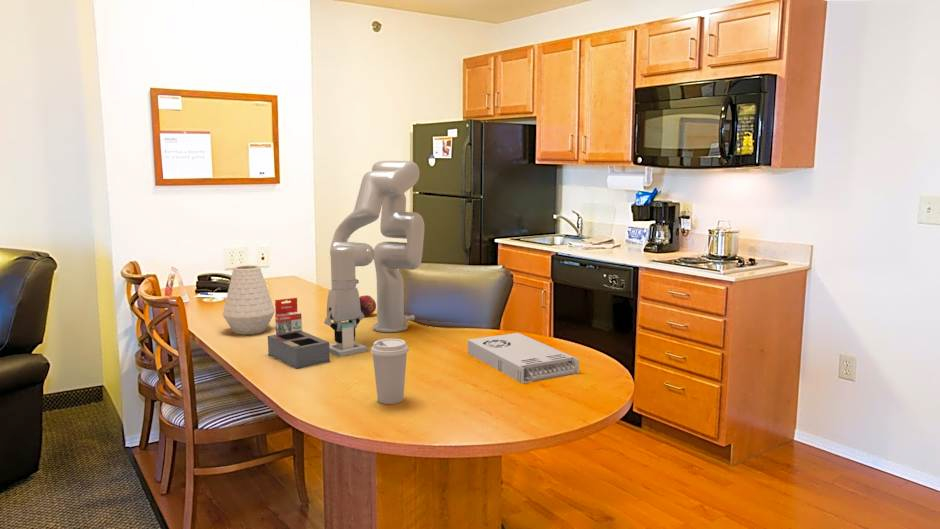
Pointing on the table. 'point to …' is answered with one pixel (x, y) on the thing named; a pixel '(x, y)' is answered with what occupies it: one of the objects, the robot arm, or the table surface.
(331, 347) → the white square frame
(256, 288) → the vase
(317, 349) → the port block
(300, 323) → the ink box
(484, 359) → the power supply unit
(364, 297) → the fruit
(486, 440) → the table surface
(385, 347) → the coffee cup
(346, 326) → the plug
